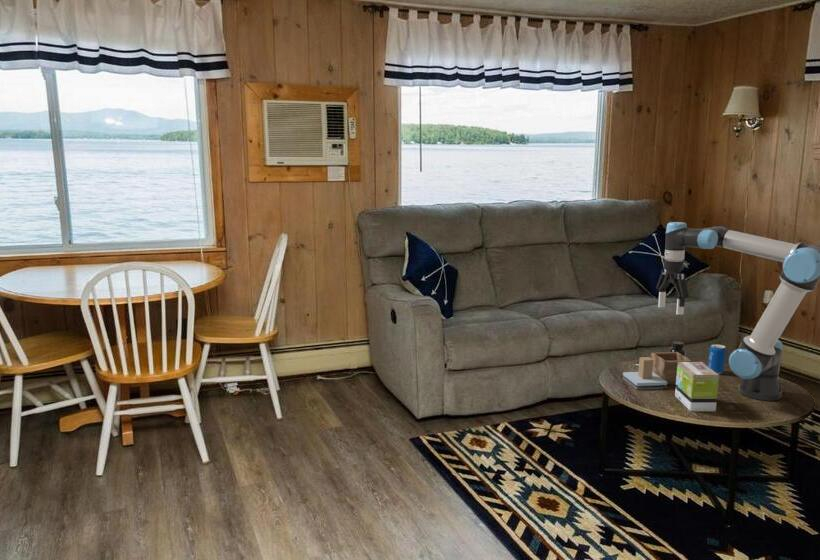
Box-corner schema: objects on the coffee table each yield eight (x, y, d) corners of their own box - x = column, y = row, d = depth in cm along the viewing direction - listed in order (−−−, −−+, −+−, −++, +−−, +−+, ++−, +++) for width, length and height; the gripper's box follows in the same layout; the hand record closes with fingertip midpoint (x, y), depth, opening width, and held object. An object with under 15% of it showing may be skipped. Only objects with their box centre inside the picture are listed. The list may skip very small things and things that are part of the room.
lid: (667, 387, 262) (669, 363, 260) (636, 388, 260) (638, 364, 259) (651, 376, 275) (653, 353, 273) (622, 377, 273) (624, 354, 271)
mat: (666, 388, 262) (667, 387, 262) (636, 389, 261) (636, 388, 261) (651, 377, 275) (651, 376, 275) (622, 378, 273) (622, 377, 273)
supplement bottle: (681, 366, 290) (683, 340, 287) (686, 371, 283) (688, 345, 281) (665, 365, 290) (668, 340, 288) (670, 370, 284) (672, 344, 281)
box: (690, 383, 268) (692, 360, 266) (662, 384, 266) (664, 361, 265) (675, 374, 279) (677, 352, 278) (649, 374, 278) (650, 352, 276)
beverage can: (704, 370, 285) (706, 344, 282) (716, 369, 286) (719, 343, 284) (714, 375, 279) (716, 348, 276) (726, 374, 280) (729, 347, 278)
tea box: (673, 396, 254) (677, 360, 251) (699, 397, 254) (702, 361, 251) (689, 411, 239) (693, 373, 236) (716, 412, 239) (720, 374, 236)
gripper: (649, 256, 275) (646, 304, 279) (683, 264, 251) (679, 317, 255) (665, 255, 276) (662, 303, 280) (700, 264, 252) (696, 317, 256)
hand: (670, 310), depth 268 cm, fingers open, 13 cm apart
